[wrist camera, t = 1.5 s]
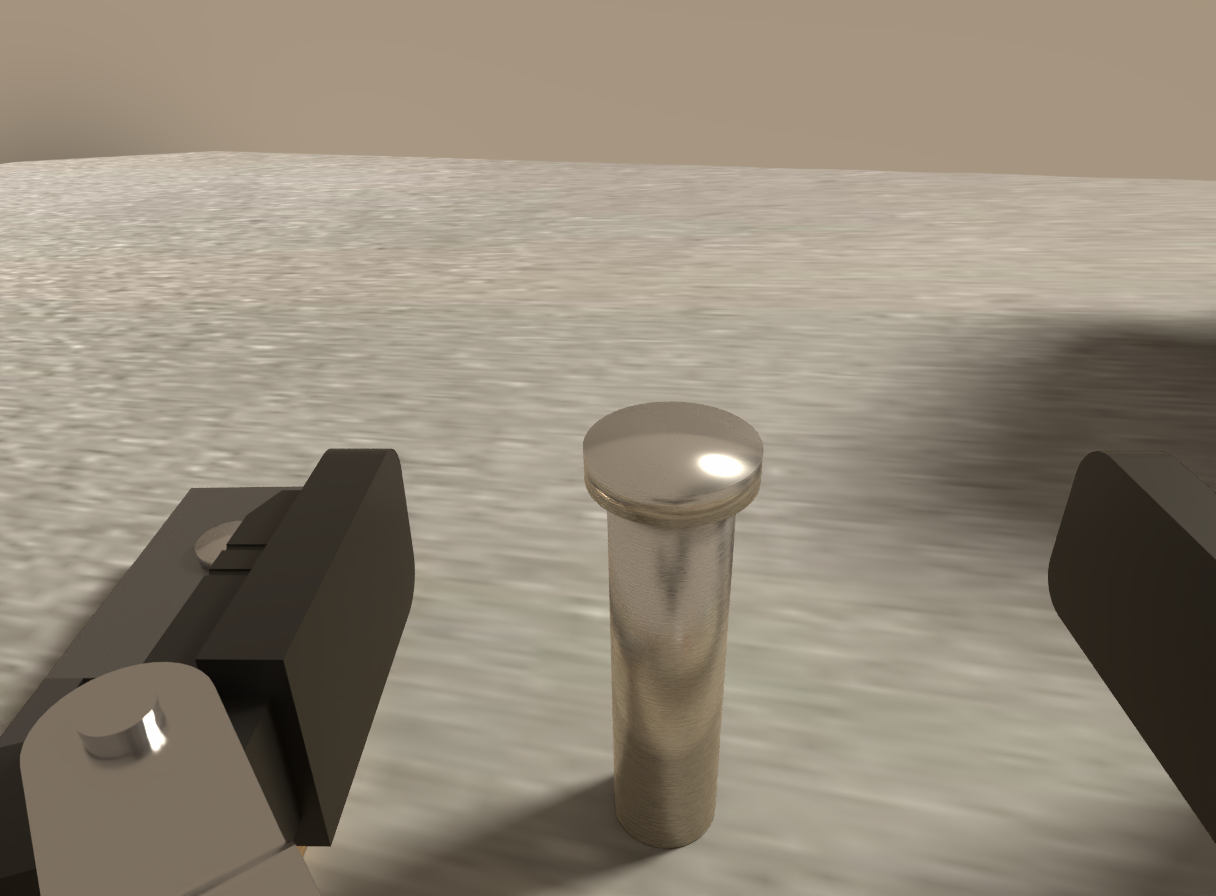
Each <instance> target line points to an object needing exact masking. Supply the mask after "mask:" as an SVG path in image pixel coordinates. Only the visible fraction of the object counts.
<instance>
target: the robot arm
mask: <svg viewBox="0 0 1216 896" xmlns="http://www.w3.org/2000/svg"><path fill="white" fill-rule="evenodd" d="M226 546H227V548H226V550H222V551H221V553H220V554H219V555H218V557H217V558H216V560H215V561H214V562H213V564H212V565H211V567H210V568H209V575H204V577H203V578H202V580H201V581H200V582H199V584H198V585H197V587H196V588H195V590H194V591H193V592H192V594H191V595H190V597H189V598H188V600H187V601H186V602H185V604H184V605H183V607H182V608H181V610H180V611H179V612H178V614H177V615H176V617H175V618H174V620H173V621H172V622H171V624H170V625H169V627H168V628H167V630H166V631H165V632H164V634H163V635H162V637H161V638H160V640H159V641H158V642H157V644H156V645H155V647H154V648H153V650H152V651H151V652H150V654H149V655H148V657H147V658H146V659H145V661H144V662H143V664H138V665H133V666H129V667H125V668H121V669H118V670H115V671H112V672H110V673H107V674H104V675H102V676H100V677H97V678H95V679H93V680H91V681H89V682H87V683H85V684H83V685H82V686H80V687H78V688H76V689H75V690H73V691H72V692H70V693H69V694H67V695H66V696H64V697H63V698H61V699H60V700H59V701H58V702H56V703H55V704H54V705H53V706H52V707H50V708H49V709H48V710H47V711H46V712H45V713H44V714H43V715H42V716H41V717H40V719H39V720H38V721H37V722H36V723H35V725H34V726H33V728H32V729H31V730H30V732H29V733H28V735H27V737H26V739H25V741H24V742H21V743H17V744H13V745H9V746H4V747H0V896H321V895H320V893H319V891H318V889H317V887H316V884H315V882H314V880H313V878H312V876H311V874H310V872H309V869H308V867H307V865H306V863H305V861H304V859H303V857H302V855H301V853H300V851H299V850H298V848H297V846H331V844H332V841H333V838H334V835H335V832H336V829H337V826H338V823H339V820H340V817H341V814H342V811H343V808H344V805H345V802H346V799H347V796H348V793H349V790H350V788H351V785H352V782H353V779H354V776H355V773H356V770H357V767H358V764H359V761H360V758H361V755H362V752H363V749H364V746H365V743H366V740H367V737H368V734H369V731H370V728H371V725H372V722H373V719H374V716H375V713H376V710H377V707H378V704H379V701H380V698H381V695H382V692H383V689H384V686H385V683H386V680H387V677H388V674H389V671H390V668H391V665H392V662H393V659H394V656H395V653H396V650H397V647H398V644H399V641H400V638H401V635H402V632H403V630H404V627H405V624H406V621H407V618H408V615H409V612H410V608H411V604H412V599H413V592H414V581H415V564H414V554H413V547H412V540H411V533H410V526H409V519H408V512H407V505H406V498H405V491H404V484H403V477H402V470H401V465H400V461H399V457H398V455H397V453H396V451H395V450H394V449H328V450H327V451H326V452H325V453H324V455H323V456H322V458H321V459H320V461H319V463H318V464H317V466H316V467H315V469H314V471H313V472H312V474H311V475H310V477H309V479H308V480H307V482H306V483H305V485H304V487H303V488H302V490H282V491H280V492H279V493H277V494H276V495H274V496H273V497H272V498H270V499H269V500H267V501H266V502H265V503H263V504H262V505H260V506H259V507H257V508H256V509H255V510H253V511H252V512H250V513H249V514H247V515H246V517H245V518H244V520H243V521H242V523H241V524H240V525H239V527H238V528H237V530H236V531H235V533H234V534H233V535H232V537H231V538H230V540H229V541H228V543H227V544H226ZM1048 585H1049V592H1050V596H1051V600H1052V603H1053V606H1054V608H1055V610H1056V612H1057V614H1058V616H1059V617H1060V619H1061V620H1062V621H1063V623H1064V624H1065V626H1066V627H1067V629H1068V630H1069V632H1070V633H1071V634H1072V636H1073V637H1074V639H1075V640H1076V642H1077V643H1078V645H1079V646H1080V648H1081V649H1082V650H1083V652H1084V653H1085V655H1086V656H1087V658H1088V659H1089V661H1090V662H1091V663H1092V665H1093V666H1094V668H1095V669H1096V671H1097V672H1098V674H1099V675H1100V677H1101V678H1102V679H1103V681H1104V682H1105V684H1106V685H1107V687H1108V688H1109V690H1110V691H1111V692H1112V694H1113V695H1114V697H1115V698H1116V700H1117V701H1118V703H1119V704H1120V706H1121V707H1122V708H1123V710H1124V711H1125V713H1126V714H1127V716H1128V717H1129V719H1130V720H1131V721H1132V723H1133V724H1134V726H1135V727H1136V729H1137V730H1138V732H1139V733H1140V734H1141V736H1142V737H1143V739H1144V740H1145V742H1146V743H1147V745H1148V746H1149V748H1150V749H1151V750H1152V752H1153V753H1154V755H1155V756H1156V758H1157V759H1158V761H1159V762H1160V763H1161V765H1162V766H1163V768H1164V769H1165V771H1166V772H1167V774H1168V775H1169V777H1170V778H1171V779H1172V781H1173V782H1174V784H1175V785H1176V787H1177V788H1178V790H1179V791H1180V792H1181V794H1182V795H1183V797H1184V798H1185V800H1186V801H1187V803H1188V804H1189V806H1190V807H1191V808H1192V810H1193V811H1194V813H1195V814H1196V816H1197V817H1198V819H1199V820H1200V821H1201V823H1202V824H1203V826H1204V827H1205V829H1206V830H1207V832H1208V833H1209V835H1210V836H1211V837H1212V839H1213V840H1214V842H1215V843H1216V493H1215V492H1214V491H1213V490H1212V489H1210V488H1209V487H1208V486H1207V485H1206V484H1205V483H1203V482H1202V481H1201V480H1200V479H1199V478H1198V477H1197V476H1195V475H1194V474H1193V473H1192V472H1191V471H1190V470H1188V469H1187V468H1186V467H1185V466H1184V465H1183V464H1181V463H1180V462H1179V461H1178V460H1177V459H1176V458H1174V457H1173V456H1172V455H1170V454H1168V453H1166V452H1161V451H1095V452H1092V453H1090V454H1088V455H1087V456H1086V457H1085V458H1084V459H1083V460H1082V462H1081V463H1080V465H1079V467H1078V470H1077V473H1076V476H1075V479H1074V482H1073V486H1072V489H1071V492H1070V496H1069V499H1068V502H1067V505H1066V509H1065V512H1064V515H1063V519H1062V522H1061V525H1060V528H1059V532H1058V535H1057V538H1056V542H1055V545H1054V548H1053V551H1052V555H1051V558H1050V562H1049V569H1048Z"/></svg>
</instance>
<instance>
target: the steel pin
mask: <svg viewBox="0 0 1216 896" xmlns="http://www.w3.org/2000/svg"><path fill="white" fill-rule="evenodd" d="M583 459H584V481H585V485H586V488H587V490H588V492H589V494H590V495H591V497H592V498H593V499H594V500H595V501H596V502H597V503H598V504H599V505H600V506H601V507H603V508H604V509H606V510H607V521H608V559H609V597H610V635H611V672H612V710H613V748H614V786H615V809H616V813H617V816H618V819H619V821H620V823H621V824H622V826H623V827H624V829H625V830H626V831H627V832H628V833H629V834H630V835H631V836H633V837H634V838H635V839H637V840H638V841H640V842H642V843H644V844H647V845H650V846H653V847H658V848H676V847H681V846H685V845H687V844H690V843H692V842H694V841H695V840H697V839H698V838H700V837H701V836H702V835H703V834H704V833H705V832H706V831H707V829H708V828H709V827H710V825H711V823H712V821H713V818H714V814H715V806H716V791H717V777H718V763H719V748H720V734H721V720H722V705H723V691H724V677H725V662H726V648H727V634H728V620H729V605H730V591H731V577H732V562H733V548H734V534H735V519H736V513H738V512H740V511H741V510H743V509H744V508H746V507H747V506H748V505H749V504H750V503H751V502H752V501H753V500H754V498H755V497H756V496H757V494H758V491H759V489H760V484H761V473H762V462H763V443H762V440H761V438H760V436H759V434H758V433H757V432H756V430H755V429H754V428H753V427H752V426H751V425H749V424H748V423H747V422H746V421H744V420H742V419H741V418H739V417H737V416H735V415H733V414H731V413H729V412H726V411H724V410H721V409H718V408H715V407H711V406H706V405H702V404H695V403H687V402H654V403H646V404H639V405H635V406H631V407H627V408H624V409H621V410H618V411H616V412H613V413H611V414H609V415H607V416H605V417H604V418H602V419H601V420H599V421H598V422H597V423H595V424H594V425H593V426H592V427H591V428H590V430H589V431H588V432H587V434H586V436H585V438H584V442H583Z"/></svg>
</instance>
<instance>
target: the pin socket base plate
mask: <svg viewBox="0 0 1216 896" xmlns="http://www.w3.org/2000/svg"><path fill="white" fill-rule="evenodd" d="M302 488H303V487H240V488H191V489H190V491H189V492H188V493H187V494H186V496H185V497H184V498H183V500H182V501H181V502H180V504H179V505H178V506H177V507H176V509H175V510H174V511H173V513H172V514H171V515H170V517H169V518H168V519H167V520H166V522H165V523H164V524H163V526H162V527H161V528H160V530H159V531H158V532H157V534H156V535H155V536H154V537H153V539H152V540H151V541H150V543H149V544H148V545H147V547H146V548H145V549H144V550H143V552H142V553H141V554H140V556H139V557H138V558H137V560H136V561H135V562H134V563H133V565H132V566H131V567H130V569H129V570H128V571H127V573H126V574H125V575H124V576H123V578H122V579H121V580H120V582H119V583H118V584H117V586H116V587H115V588H114V590H113V591H112V592H111V593H110V595H109V596H108V597H107V599H106V600H105V601H104V603H103V604H102V605H101V606H100V608H99V609H98V610H97V612H96V613H95V614H94V616H93V617H92V618H91V619H90V621H89V622H88V623H87V625H86V626H85V627H84V629H83V630H82V631H81V633H80V634H79V635H78V636H77V638H76V639H75V640H74V642H73V643H72V644H71V646H70V647H69V648H68V649H67V651H66V652H65V653H64V655H63V656H62V657H61V659H60V660H59V661H58V662H57V664H56V665H55V666H54V668H53V669H52V670H51V672H50V673H49V674H48V676H47V677H46V678H45V679H44V681H43V682H42V683H41V685H40V686H39V687H38V689H37V690H36V691H35V692H34V694H33V695H32V696H31V698H30V699H29V700H28V702H27V703H26V704H25V705H24V707H23V708H22V709H21V711H20V712H19V713H18V715H17V716H16V717H15V718H14V720H13V721H12V722H11V724H10V725H9V726H8V728H7V729H6V730H5V732H4V733H3V734H2V735H1V737H0V747H4V746H9V745H13V744H17V743H21V742H24V741H25V739H26V737H27V735H28V733H29V732H30V730H31V729H32V728H33V726H34V725H35V723H36V722H37V721H38V720H39V719H40V717H41V716H42V715H43V714H44V713H45V712H46V711H47V710H48V709H49V708H50V707H52V706H53V705H54V704H55V703H56V702H58V701H59V700H60V699H61V698H63V697H64V696H66V695H67V694H69V693H70V692H72V691H73V690H75V689H76V688H78V687H80V686H82V685H83V684H85V683H87V682H89V681H91V680H93V679H95V678H97V677H100V676H102V675H104V674H107V673H110V672H112V671H115V670H118V669H121V668H125V667H129V666H133V665H138V664H143V662H144V661H145V659H146V658H147V657H148V655H149V654H150V652H151V651H152V650H153V648H154V647H155V645H156V644H157V642H158V641H159V640H160V638H161V637H162V635H163V634H164V632H165V631H166V630H167V628H168V627H169V625H170V624H171V622H172V621H173V620H174V618H175V617H176V615H177V614H178V612H179V611H180V610H181V608H182V607H183V605H184V604H185V602H186V601H187V600H188V598H189V597H190V595H191V594H192V592H193V591H194V590H195V588H196V587H197V585H198V584H199V582H200V581H201V580H202V578H203V577H204V575H209V568H210V567H211V565H212V564H213V562H214V561H215V560H216V558H217V557H218V555H219V554H220V553H221V551H222V550H226V548H227V546H226V544H227V543H228V541H229V540H230V538H231V537H232V535H233V534H234V533H235V531H236V530H237V528H238V527H239V525H240V524H241V523H242V521H243V520H244V518H245V517H246V515H247V514H249V513H250V512H252V511H253V510H255V509H256V508H257V507H259V506H260V505H262V504H263V503H265V502H266V501H267V500H269V499H270V498H272V497H273V496H274V495H276V494H277V493H279V492H280V491H282V490H302ZM306 847H307V846H297V848H298V850H299V851H300V853H301V855H302V857H303V856H304V853H305V850H306Z"/></svg>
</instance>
